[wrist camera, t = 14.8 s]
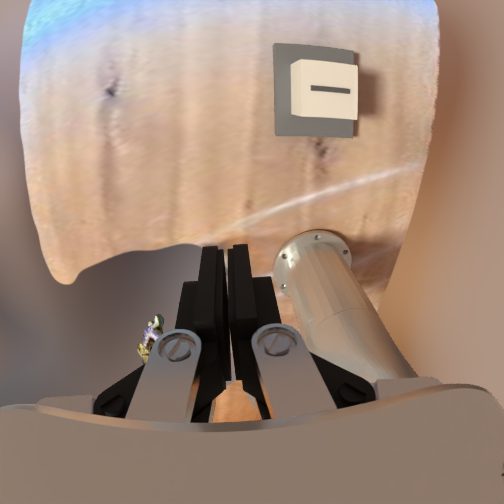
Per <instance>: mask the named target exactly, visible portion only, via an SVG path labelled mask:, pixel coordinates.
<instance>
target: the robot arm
mask: <svg viewBox="0 0 504 504" xmlns="http://www.w3.org/2000/svg"><path fill="white" fill-rule="evenodd" d="M316 235H317V236H316ZM283 254H284V255H283ZM351 266H352V256H351V252H350V250H349V247H348V246H347V244H346V243H345V242H344V241H343V239H342V238H340V237H339V236H338V235H336V234H334V233H332V232H329V231H324V230H313V231H308V232H304V233H302V234H299V235H297V236H295V237H293V238H292V239H290V240H289V241H288V242H287V243H286V244H285V245H284V246H283V247H282V248H281V249H280V251H279V252H278V254H277V256H276V258H275V261H274V266H273V274H274V279H275V282H276V284H277V286H278V288H279V289H280V290H281V292H282V293H284V294H285V295H286V296H288V297H290V298H291V301H292V305H293V308H294V312H295V315H296V319H297V322H298V326H299V329H300V333H301V335H300V333H299V332H298V331H297V330H296V329H294V328H293V327H291V326H288V325H286V324H282V323H281V319H280V314H279V310H278V305H277V301H276V297H275V292H274V288H273V284H272V279H271V277H270V276H268V277H254V278H252V274H251V266H250V259H249V252H248V244H238V245H233V249H228V292H227V283H226V273H225V262H224V252H223V249H220V250H218V247H217V246H208V247H203V249H202V256H201V263H200V270H199V277H198V281H190V282H184V283H183V288H182V293H181V298H180V303H179V309H178V314H177V320H176V325H175V329H174V330H171V331H168V332H166V333H164V334H162V335H161V336H160V337H158V338H157V340H156V341H155V343H154V344H153V347H152V349H151V352H150V354H149V357H148V359H147V362H146V363H145V364H144V365H142V366H141V367H140V368H138V369H137V370H135V371H133V372H132V373H130V374H129V375H128V376H126V377H125V378H123V379H121V380H120V381H118V382H117V383H115V384H114V385H112V386H111V387H109V388H108V389H106V390H105V391H103V392H102V393H101V394H100V395H99V396H98V397H95V398H94V397H93V396H92V395H82V396H69V397H68V396H67V397H48V398H43V399H42V400H40V401H39V402H38V403H37V404H36V405H33V404H18V405H11V406H5V407H1V408H0V504H504V409H503V408H502V406H501V404H500V403H499V402H498V400H497V399H496V398H495V397H494V396H493V395H492V394H491V393H490V392H489V391H487V389H485V388H483V387H480V386H476V385H471V384H442V383H441V382H440V381H439V380H438V379H435V378H433V377H419V376H418V375H417V373H416V372H415V371H414V370H413V368H412V367H411V365H410V364H409V363H408V361H407V360H406V359H405V357H404V356H403V355H402V353H401V352H400V350H399V349H398V347H397V346H396V344H395V342H394V341H393V339H392V337H391V336H390V334H389V333H388V331H387V329H386V328H385V326H384V324H383V322H382V321H381V319H380V317H379V315H378V314H377V312H376V310H375V308H374V307H373V305H372V303H371V302H370V300H369V298H368V297H367V295H366V293H365V292H364V290H363V288H362V287H361V285H360V283H359V282H358V280H357V279H356V277H355V275H354V274H353V272H352V271H351ZM230 334H231V342H232V351H233V359H234V366H235V374H236V380H242V384H243V390H244V391H246V392H247V393H248V394H250V395H251V396H253V397H254V400H255V405H256V408H257V411H258V415H259V418H260V420H257V421H244V422H223V423H212V421H213V415H214V410H215V404H216V403H215V398H216V397H217V396H218V395H219V394H221V393H222V392H223V391H224V390H226V381H231V353H230Z"/></svg>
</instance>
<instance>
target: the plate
mask: <svg viewBox="0 0 504 504" xmlns="http://www.w3.org/2000/svg"><path fill="white" fill-rule="evenodd" d="M300 59H306V60H318V61H327V62H336V63H343V64H350V65H354V51H350V50H344V49H337V48H330V47H321V46H312V45H300V44H282V43H274V45H273V65H274V105H275V135H276V136H317V137H341V138H353V123H354V120H352V119H340V118H325V117H301V116H297V115H293V114H291V64H293V63H294V62H296V61H298V60H300Z"/></svg>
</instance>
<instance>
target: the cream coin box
mask: <svg viewBox="0 0 504 504" xmlns="http://www.w3.org/2000/svg"><path fill="white" fill-rule="evenodd" d="M357 113H358V66H357V65H350V64H343V63H336V62H327V61H318V60H306V59H300V60H298V61H296V62H294V63H293V64H291V114H293V115H297V116H301V117H325V118H340V119H352V120H357Z"/></svg>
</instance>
